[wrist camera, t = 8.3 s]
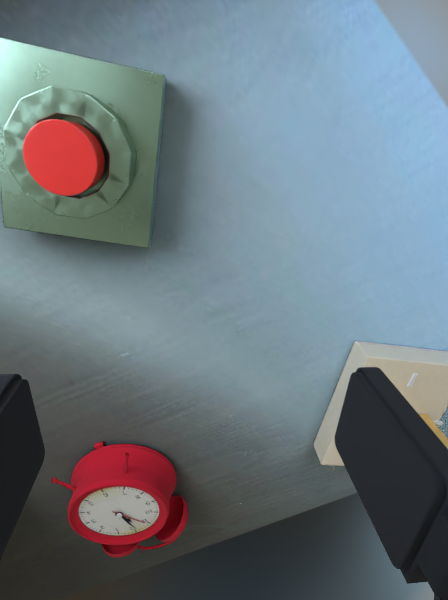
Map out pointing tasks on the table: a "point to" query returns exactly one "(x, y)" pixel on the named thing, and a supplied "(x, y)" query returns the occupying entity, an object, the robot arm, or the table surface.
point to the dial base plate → (402, 373)
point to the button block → (97, 119)
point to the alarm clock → (125, 498)
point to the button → (63, 157)
